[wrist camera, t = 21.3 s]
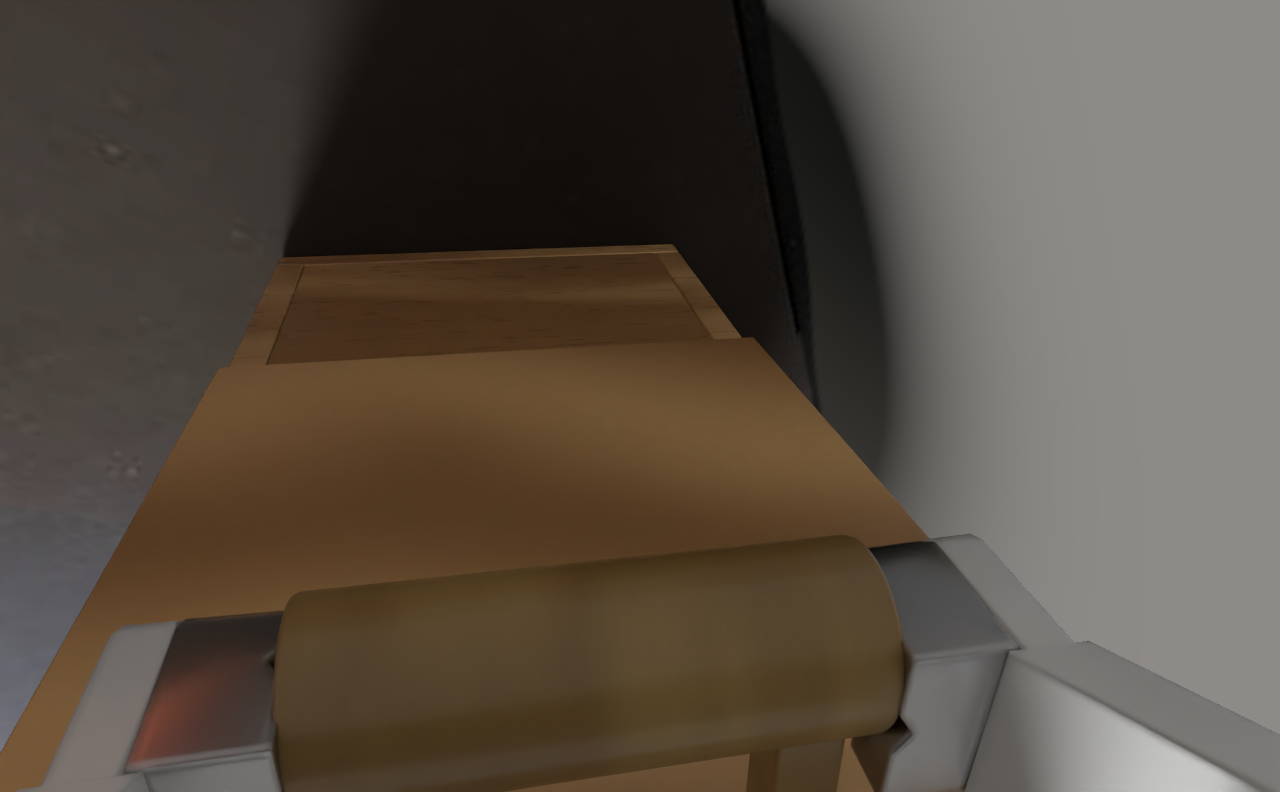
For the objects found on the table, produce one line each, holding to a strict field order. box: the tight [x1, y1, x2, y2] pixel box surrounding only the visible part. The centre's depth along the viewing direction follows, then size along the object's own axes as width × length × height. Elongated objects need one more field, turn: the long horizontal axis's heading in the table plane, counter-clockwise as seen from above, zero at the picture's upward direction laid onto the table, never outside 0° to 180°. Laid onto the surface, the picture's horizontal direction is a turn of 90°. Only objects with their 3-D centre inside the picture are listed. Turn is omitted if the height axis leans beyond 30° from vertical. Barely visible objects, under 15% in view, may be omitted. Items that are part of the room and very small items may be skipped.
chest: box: [229, 244, 742, 367], centre depth 31 cm, size 17×14×9 cm
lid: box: [0, 337, 930, 792], centre depth 14 cm, size 18×14×5 cm
